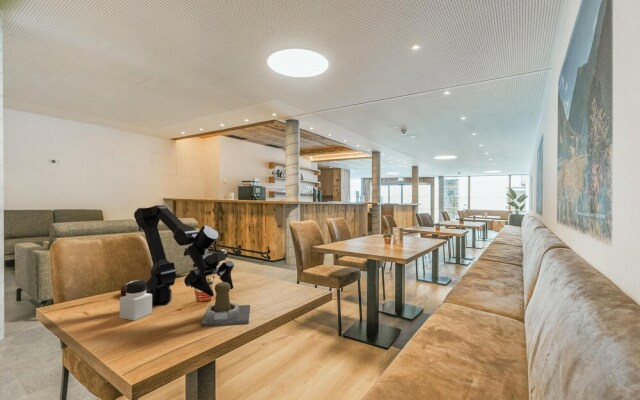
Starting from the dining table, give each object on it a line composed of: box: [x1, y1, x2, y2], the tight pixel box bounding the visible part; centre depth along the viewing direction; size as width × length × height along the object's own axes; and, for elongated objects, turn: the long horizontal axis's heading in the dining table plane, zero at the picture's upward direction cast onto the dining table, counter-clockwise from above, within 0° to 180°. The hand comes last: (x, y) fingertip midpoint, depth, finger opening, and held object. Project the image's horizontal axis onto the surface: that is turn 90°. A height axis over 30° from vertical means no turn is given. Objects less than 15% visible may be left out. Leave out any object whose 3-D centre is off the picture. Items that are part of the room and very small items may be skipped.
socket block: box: [200, 301, 251, 327], centre depth 106 cm, size 15×15×4 cm
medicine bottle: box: [119, 279, 153, 322], centre depth 106 cm, size 7×7×12 cm
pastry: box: [120, 279, 151, 297], centre depth 131 cm, size 11×12×6 cm
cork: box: [214, 281, 231, 312], centre depth 105 cm, size 6×6×11 cm
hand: (223, 292), depth 105 cm, fingers open, 9 cm apart
